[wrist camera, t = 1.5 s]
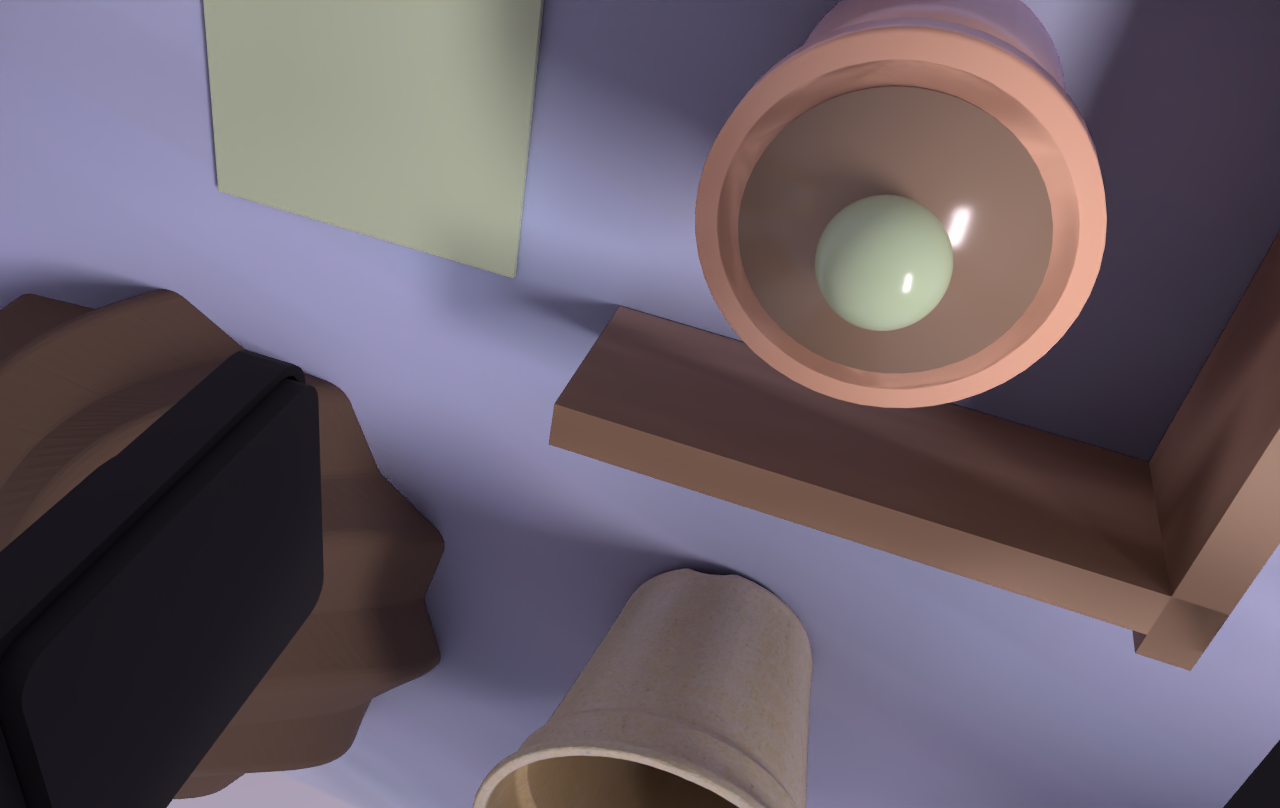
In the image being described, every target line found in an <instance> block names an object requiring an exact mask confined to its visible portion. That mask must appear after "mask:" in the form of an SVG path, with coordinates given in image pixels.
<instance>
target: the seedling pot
mask: <svg viewBox="0 0 1280 808" xmlns="http://www.w3.org/2000/svg"><path fill="white" fill-rule="evenodd" d="M1106 225H1107V214H1106V202H1105V192H1104V186H1103V180H1102V174H1101V169H1100V165H1099V160H1098V156H1097V152H1096V148H1095V145H1094V142H1093V140H1092V137H1091V135H1090V132H1089V130H1088V128H1087V125H1086V123H1085V121H1084V119H1083V117H1082V116H1081V114H1080V112H1079V111H1078V109H1077V107H1076V106H1075V104H1074V102H1073V101H1072V99H1071V98H1070V96H1069V95H1068V94H1067V93H1066V92H1065V84H1064V75H1063V71H1062V67H1061V63H1060V59H1059V56H1058V53H1057V51H1056V48H1055V46H1054V43H1053V41H1052V39H1051V37H1050V36H1049V34H1048V32H1047V31H1046V29H1045V27H1044V26H1043V24H1042V23H1041V22H1040V20H1039V19H1038V18H1037V17H1036V16H1035V14H1034V13H1033V12H1032V11H1031V9H1029V8H1028V7H1027V6H1026V5H1025V4H1024V3H1023V2H1022V1H1021V0H842V1H840V2H839V3H838V4H837V5H835V6H834V7H833V8H832V9H831V10H830V11H829V12H828V13H827V14H826V15H825V16H824V17H823V18H822V19H821V21H820V22H819V23H818V24H817V25H816V27H815V28H814V29H813V30H812V32H811V33H810V35H809V37H808V38H807V40H806V41H805V43H804V44H803V46H801V47H799V48H797V49H795V50H794V51H793V52H791V53H790V54H788V55H787V56H786V57H784V58H783V59H781V60H780V61H779V62H777V63H776V64H775V65H773V66H772V67H771V68H770V69H769V70H768V71H767V72H766V73H765V74H764V75H763V76H762V77H761V78H760V79H759V80H758V81H756V83H755V84H754V85H753V86H752V88H751V89H750V90H749V91H748V92H747V94H746V95H745V96H744V97H743V99H742V100H741V101H740V102H739V104H738V105H737V107H736V108H735V110H734V111H733V112H732V114H731V115H730V117H729V118H728V120H727V121H726V123H725V125H724V126H723V128H722V129H721V131H720V133H719V134H718V136H717V138H716V139H715V141H714V143H713V146H712V148H711V150H710V153H709V155H708V157H707V159H706V162H705V165H704V168H703V172H702V175H701V179H700V183H699V186H698V194H697V201H696V208H695V234H696V241H697V248H698V255H699V259H700V263H701V266H702V270H703V274H704V277H705V280H706V282H707V284H708V287H709V289H710V291H711V294H712V296H713V299H714V300H715V302H716V304H717V305H718V307H719V309H720V311H721V312H722V314H723V316H724V317H725V319H726V320H727V322H728V323H729V324H730V326H731V327H732V328H733V330H734V331H735V332H736V333H737V335H738V336H739V337H740V338H741V339H742V340H743V341H744V342H745V343H746V344H747V345H748V346H749V348H750V349H751V350H752V351H753V352H754V353H755V354H757V355H758V356H759V357H760V358H762V359H763V360H764V361H765V362H767V363H768V364H769V365H770V366H771V367H773V368H774V369H776V370H777V371H779V372H780V373H782V374H784V375H785V376H787V377H788V378H790V379H791V380H793V381H795V382H797V383H799V384H801V385H803V386H805V387H807V388H809V389H811V390H813V391H816V392H819V393H822V394H824V395H827V396H830V397H833V398H835V399H839V400H843V401H847V402H852V403H856V404H860V405H868V406H876V407H883V408H915V407H926V406H935V405H940V404H945V403H950V402H955V401H959V400H962V399H965V398H968V397H971V396H974V395H977V394H980V393H983V392H985V391H987V390H989V389H992V388H994V387H996V386H998V385H1000V384H1003V383H1005V382H1006V381H1008V380H1010V379H1011V378H1013V377H1014V376H1016V375H1018V374H1019V373H1021V372H1023V371H1024V370H1026V369H1027V368H1028V367H1030V366H1031V365H1032V364H1033V363H1035V362H1036V361H1037V360H1039V359H1040V358H1041V357H1042V356H1044V355H1045V354H1046V353H1047V352H1048V351H1049V350H1050V349H1051V348H1052V347H1053V346H1054V345H1055V344H1056V343H1057V342H1058V341H1059V340H1060V339H1061V338H1062V337H1063V335H1064V334H1065V333H1066V331H1067V330H1068V329H1069V327H1070V326H1071V325H1072V323H1073V322H1074V321H1075V319H1076V318H1077V317H1078V315H1079V313H1080V312H1081V310H1082V308H1083V306H1084V304H1085V303H1086V301H1087V299H1088V297H1089V296H1090V294H1091V291H1092V288H1093V286H1094V283H1095V281H1096V278H1097V275H1098V273H1099V270H1100V266H1101V261H1102V257H1103V252H1104V248H1105V240H1106Z"/></svg>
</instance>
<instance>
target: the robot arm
mask: <svg viewBox="0 0 1280 808" xmlns="http://www.w3.org/2000/svg"><path fill="white" fill-rule="evenodd" d="M323 581H324V564H323V532H322V499H321V466H320V433H319V400H318V393H317V391H316V389H315V387H313V386H311V385H308V384H306V382H305V375H304V373H303V371H302V369H301V368H300V367H298V366H296V365H293V364H290V363H287V362H284V361H280V360H277V359H274V358H271V357H267V356H264V355H261V354H258V353H254V352H251V351H248V350H241V351H237V352H236V353H234V354H233V355H231V356H230V357H229V358H227V359H226V360H225V361H224V362H223V363H222V364H221V365H219V366H218V367H217V368H216V369H215V370H214V371H213V372H211V373H210V374H209V375H208V376H207V377H206V378H205V379H203V380H202V381H201V382H200V383H199V384H198V385H196V386H195V387H194V388H193V389H192V390H191V391H190V392H188V393H187V394H186V395H185V396H184V397H183V398H182V399H180V400H179V401H178V402H177V403H176V404H175V405H174V406H172V407H171V408H170V409H169V410H168V411H167V412H166V413H164V414H163V415H162V416H161V417H160V418H159V419H157V420H156V421H155V422H154V423H153V424H152V425H151V426H149V427H148V428H147V429H146V430H145V431H144V432H143V433H141V434H140V435H139V436H138V437H137V438H136V439H135V440H133V441H132V442H131V443H130V444H129V445H128V446H127V447H125V448H124V449H123V450H122V451H121V452H120V453H118V454H117V455H116V456H115V457H112V458H111V459H109V460H108V461H106V462H105V463H103V464H102V465H100V466H99V467H98V468H96V469H95V470H94V471H93V472H92V473H91V474H90V475H88V476H87V477H86V478H85V479H84V480H83V481H81V482H80V483H79V484H78V485H77V486H76V487H75V488H73V489H72V490H71V491H70V492H69V493H68V494H66V495H65V496H64V497H63V498H62V499H61V500H60V501H58V502H57V503H56V504H55V505H54V506H53V507H51V508H50V509H49V510H48V511H47V512H46V513H45V514H43V515H42V516H41V517H40V518H39V519H38V520H37V521H35V522H34V523H33V524H32V525H31V526H30V527H28V528H27V529H26V530H25V531H24V532H23V533H22V534H20V535H19V536H18V537H17V538H16V539H15V540H13V541H12V542H11V543H10V544H9V545H8V546H7V547H5V548H4V549H3V550H2V551H1V552H0V808H166V807H167V806H168V805H169V803H170V802H171V801H172V799H173V798H174V797H175V795H176V794H177V793H178V791H179V790H180V789H181V787H182V786H183V785H184V783H185V782H186V781H187V779H188V778H189V776H190V775H191V774H192V772H193V771H194V770H195V768H196V767H197V766H198V764H199V763H200V762H201V760H202V759H203V758H204V756H205V755H206V754H207V752H208V751H209V750H210V748H211V747H212V746H213V744H214V743H215V742H216V740H217V739H218V738H219V736H220V735H221V734H222V732H223V731H224V729H225V728H226V727H227V725H228V724H229V723H230V721H231V720H232V719H233V717H234V716H235V715H236V713H237V712H238V711H239V709H240V708H241V707H242V705H243V704H244V703H245V701H246V700H247V699H248V697H249V696H250V695H251V693H252V692H253V691H254V689H255V688H256V687H257V685H258V684H259V683H260V681H261V680H262V678H263V677H264V676H265V674H266V673H267V672H268V670H269V669H270V668H271V666H272V665H273V664H274V662H275V661H276V660H277V658H278V657H279V656H280V654H281V653H282V652H283V650H284V649H285V648H286V646H287V645H288V644H289V642H290V641H291V640H292V638H293V637H294V636H295V634H296V633H297V631H298V630H299V629H300V627H301V626H302V625H303V623H304V622H305V621H306V619H307V618H308V617H309V615H310V614H311V612H312V611H313V609H314V608H315V606H316V604H317V601H318V599H319V597H320V594H321V591H322V586H323ZM1223 808H1280V740H1279V742H1278V743H1277V744H1276V745H1275V746H1274V748H1273V749H1272V750H1271V751H1270V752H1269V754H1268V755H1267V756H1266V757H1265V758H1264V760H1263V761H1262V762H1261V763H1260V764H1259V765H1258V767H1257V768H1256V769H1255V770H1254V771H1253V773H1252V774H1251V775H1250V776H1249V777H1248V779H1247V780H1246V781H1245V782H1244V783H1243V785H1242V786H1241V787H1240V788H1239V789H1238V791H1237V792H1236V793H1235V794H1234V795H1233V797H1232V798H1231V799H1230V800H1229V801H1228V803H1227V804H1226V805H1225V806H1224V807H1223Z"/></svg>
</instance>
